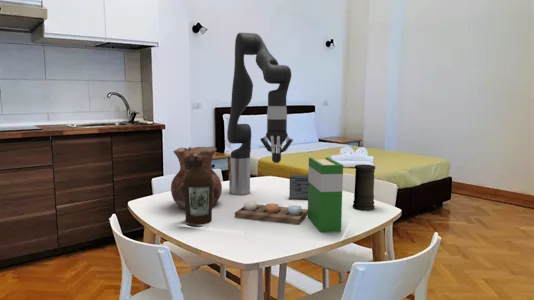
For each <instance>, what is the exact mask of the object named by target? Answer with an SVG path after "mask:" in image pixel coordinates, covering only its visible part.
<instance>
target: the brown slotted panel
mask: <svg viewBox="0 0 534 300" xmlns="http://www.w3.org/2000/svg"><path fill="white" fill-rule="evenodd" d="M288 207H289V206H288ZM288 207H285V206H279V212H278V213H267V212H266V204H265V205H264V204H257V210H255V211H246V210H244V206H243V207H241V208H239V209H238V210H237V211H235V212H234V218H235V219H241V220H243V219H244V220H253V221H261V222H267V223H268V222H270V223H278V224H279V223H280V224H288V225H297V226H298V225H301V223H302V222H303V221H304V220H305V219H306V218H307V217H308V208H302V214H301V215H298V216H294V215H289V214H288Z"/></svg>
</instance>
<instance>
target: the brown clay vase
mask: <svg viewBox="0 0 534 300" xmlns="http://www.w3.org/2000/svg"><path fill="white" fill-rule="evenodd" d="M172 152H173V153H174V155H175V156H176V157H177V159H178V162H179V171H178V172H177V174H175V175H174V177H173V179H172V180H171V185H170V193H171V197H172V199H173V201H174V202H175V204H176V205H178V207H180V208H182V209H183V210H185V198H184V185H183V182H184V178H185V176H186V174H187V173H188V172H189V171H190V170H191V169H192V168H193V160H194V158H193V156H202V160H203V167H204V168H205V169H206V170H207V171H208V172H209V174H210V175H211V177H212V180H213V194H212V207H213V206H215V205H216V204H217V203H218V201H219V199H220V198H221V195H222V191H223V185H222V181H221V180H220V177H219V175H218V174H217V173H216V172H215V171H214V170H213V169H212V161H213V160H212V159H213V157H214V155H215V153H216V152H217V147H216V146H195V147H191V146H189V147H188V148H186V147H178V148H177V149H174V150H173V151H172Z"/></svg>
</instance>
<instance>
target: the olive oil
mask: <svg viewBox="0 0 534 300" xmlns="http://www.w3.org/2000/svg"><path fill="white" fill-rule="evenodd" d="M193 158H194V160H193V168H192V169H191V170H190V171H189V172H188V173H187V174H186V176H185V178H184V182H183V185H184V198H185V209H184V210H185V223H186V226H188V227H193V228H200V227H202V228H203V227H204V225H207V224H210V223H211V222H212V220H213V217H212V215H213V206H212V194H213V180H212V177H211V175H210V174H209V172H208V171H207V170H206V169H205V168H204V167H203V160H202V156H193Z"/></svg>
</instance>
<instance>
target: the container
mask: <svg viewBox="0 0 534 300" xmlns="http://www.w3.org/2000/svg"><path fill="white" fill-rule="evenodd" d="M354 169H355V170H354V171H355V175H354V176H355V178H354V194H353V198H354V199H353V204H352V208H353V209H355V210H357V211H364V210H367V211H372V210H373V211H374V210H375V199H374V198H375V195H374V194H375V193H374V192H375V190H374V189H375V172H376V171H375V170H376V166H375V165H372V164H355V165H354Z"/></svg>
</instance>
